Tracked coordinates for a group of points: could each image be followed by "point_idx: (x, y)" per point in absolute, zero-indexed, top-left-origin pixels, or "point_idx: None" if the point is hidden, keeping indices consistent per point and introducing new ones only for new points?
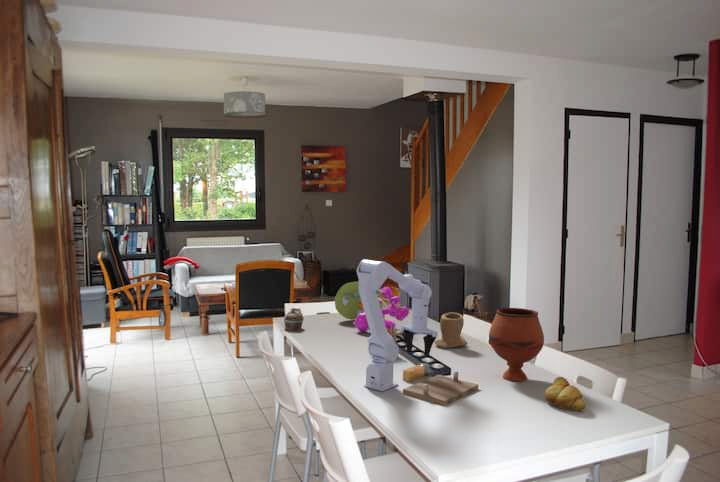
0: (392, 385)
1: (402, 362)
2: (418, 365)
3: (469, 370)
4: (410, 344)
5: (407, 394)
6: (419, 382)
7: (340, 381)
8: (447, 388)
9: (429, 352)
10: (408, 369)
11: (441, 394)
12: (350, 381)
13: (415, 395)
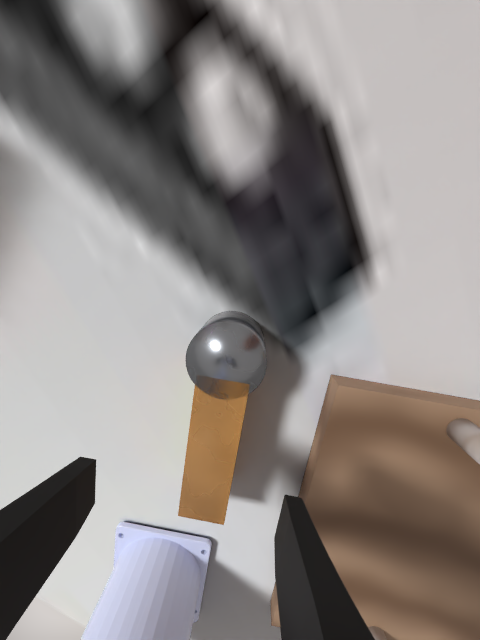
0: (202, 571)
1: (24, 201)
2: (204, 394)
3: (473, 85)
4: (33, 551)
5: None
6: None
7: None
8: (445, 550)
9: (310, 526)
10: (193, 490)
11: (437, 617)
12: None
13: None
